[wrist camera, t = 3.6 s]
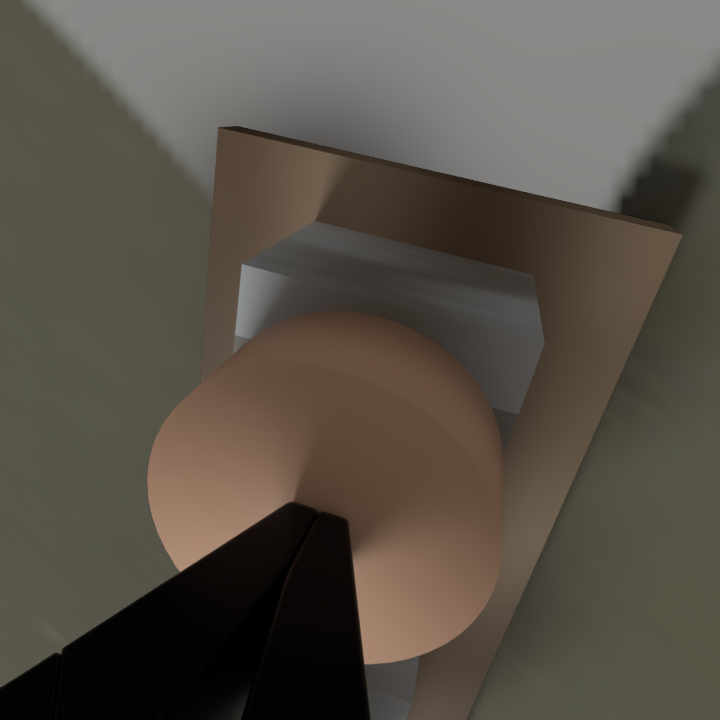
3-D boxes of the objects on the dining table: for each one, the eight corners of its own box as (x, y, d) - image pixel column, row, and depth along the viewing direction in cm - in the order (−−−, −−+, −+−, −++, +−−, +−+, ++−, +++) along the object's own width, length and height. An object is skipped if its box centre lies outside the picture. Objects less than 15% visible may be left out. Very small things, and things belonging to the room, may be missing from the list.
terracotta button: (535, 283, 12) (558, 432, 6) (469, 475, 14) (445, 706, 9) (305, 226, 12) (151, 317, 7) (277, 418, 14) (144, 599, 9)
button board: (670, 225, 12) (763, 293, 8) (403, 839, 24) (380, 1009, 19) (237, 125, 13) (104, 135, 9) (183, 754, 25) (113, 895, 20)
